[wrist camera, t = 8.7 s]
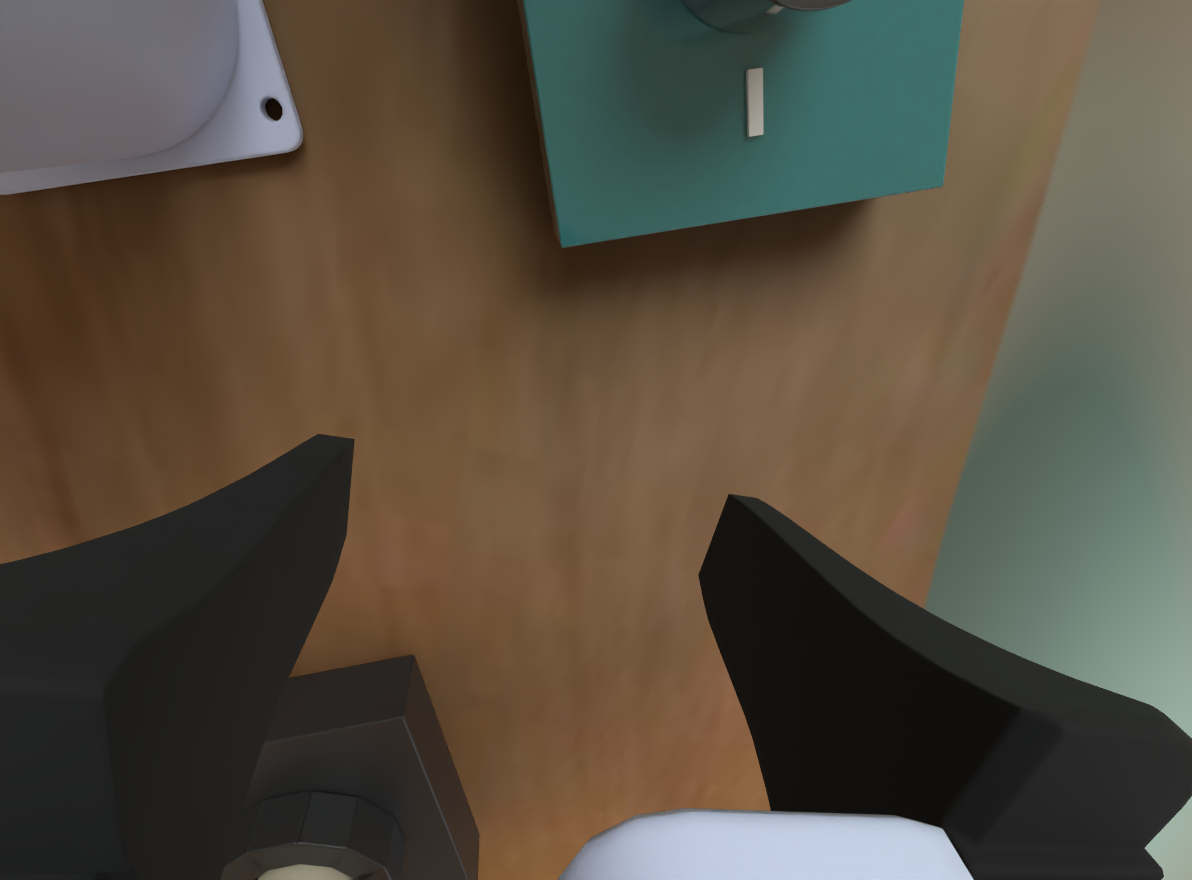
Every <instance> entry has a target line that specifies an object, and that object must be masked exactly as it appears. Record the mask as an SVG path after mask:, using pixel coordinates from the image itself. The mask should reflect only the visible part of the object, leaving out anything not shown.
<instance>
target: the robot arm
mask: <svg viewBox="0 0 1192 880" xmlns="http://www.w3.org/2000/svg"><path fill="white" fill-rule="evenodd" d="M271 98H274V99H275V100H277V101H278V102H279V103H280V105H281V106H282V110H283V115H282V117H281V119H279V120H277V121H275V120H273V119H272V118H270V117H269V116H268V114H267V112H266V108H265V105H266V103H267V101H268V100H269V99H271ZM302 140H303V129H302V125H301V122H300V119H299V116H298V112H297V109H296V106H295V103H294V100H293V96H292V93H291V90H290V87H289V84H288V80H287V77H286V74H285V71H284V67H283V64H282V61H281V58H280V55H279V51H278V48H277V45H276V42H275V39H274V35H273V32H272V29H271V26H270V23H269V19H268V16H267V13H266V10H265V6H264V3H263V0H0V195H8V194H15V193H22V192H28V191H35V190H42V189H48V188H55V187H62V186H68V185H75V184H82V183H88V182H95V181H102V180H108V179H115V178H122V177H128V176H135V175H142V174H148V173H155V172H162V171H168V170H175V169H182V168H188V167H195V166H202V165H208V164H215V163H222V162H228V161H235V160H242V159H248V158H255V157H262V156H268V155H275V154H282V153H288V152H292V151H294V150H297V148H298V147H299V146H300V145H301V144H302ZM353 450H354V439H349V438H343V437H336V436H329V435H322V434H317V435H315V436H314V437H312V438H310V439H308V440H307V441H305V442H303V443H302V444H300V445H298V446H297V447H295V448H294V449H292V450H290V451H289V452H287V453H285V454H284V455H282V456H280V457H279V458H277V459H275V460H274V461H272V462H270V463H268V464H267V465H265V466H263V467H261V468H260V469H258V470H256V471H255V472H253V473H251V474H249V475H248V476H246V477H244V478H242V479H240V480H238V481H236V482H234V483H232V484H230V485H228V486H226V487H224V488H222V489H220V490H218V491H216V492H214V493H212V494H210V495H208V496H206V497H204V498H202V499H200V500H198V501H196V502H194V503H191V504H189V505H187V506H185V507H182V508H180V509H178V510H175V511H173V512H170V513H168V514H165V515H163V516H160V517H158V518H155V519H152V520H150V521H147V522H145V523H142V524H139V525H137V526H134V527H131V528H128V529H125V530H122V531H119V532H115V533H112V534H109V535H106V536H102V537H99V538H96V539H93V540H90V541H86V542H83V543H80V544H77V545H74V546H70V547H67V548H64V549H60V550H57V551H53V552H49V553H45V554H41V555H37V556H33V557H29V558H25V559H21V560H17V561H13V562H8V563H4V564H0V880H221V876H222V873H223V870H224V867H225V863H226V860H227V857H228V854H229V850H230V847H231V844H232V841H233V837H234V834H235V831H236V828H237V825H238V821H239V818H240V815H241V812H242V809H243V806H244V803H245V800H246V796H247V793H248V790H249V787H250V784H251V781H252V778H253V775H254V772H255V768H256V765H257V762H258V759H259V756H260V753H261V750H262V747H263V744H264V741H265V738H266V735H267V732H268V729H269V726H270V723H271V721H272V718H273V715H274V712H275V709H276V706H277V704H278V701H279V699H280V696H281V694H282V692H283V689H284V687H285V684H286V682H287V680H288V678H289V675H290V673H291V671H292V669H293V667H294V665H295V662H296V660H297V658H298V656H299V654H300V651H301V649H302V647H303V645H304V643H305V641H306V638H307V636H308V634H309V632H310V630H311V628H312V625H313V623H314V621H315V619H316V617H317V614H318V612H319V610H320V608H321V606H322V603H323V601H324V599H325V597H326V594H327V592H328V590H329V588H330V585H331V583H332V581H333V578H334V575H335V571H336V568H337V565H338V562H339V558H340V555H341V551H342V548H343V545H344V541H345V538H346V534H347V522H348V510H349V498H350V486H351V474H352V462H353ZM699 580H700V585H701V590H702V595H703V600H704V604H705V609H706V613H707V617H708V620H709V623H710V626H711V629H712V631H713V634H714V637H715V639H716V642H717V645H718V647H719V650H720V653H721V655H722V658H723V661H724V663H725V666H726V668H727V671H728V673H729V676H730V679H731V681H732V684H733V686H734V689H735V691H736V694H737V697H738V699H739V702H740V704H741V707H742V710H743V712H744V715H745V717H746V720H747V723H748V726H749V729H750V732H751V735H752V738H753V742H754V745H755V749H756V753H757V757H758V760H759V764H760V768H761V772H762V775H763V779H764V783H765V787H766V791H767V795H768V799H769V804H770V808H771V811H754V810H724V809H695V808H684V809H676V810H669V811H662V812H655V813H647V814H640V815H635V816H633V817H631V818H629V819H627V820H625V821H623V822H621V823H619V824H617V825H615V826H613V827H611V828H609V829H607V830H605V831H603V832H601V833H599V834H597V835H595V836H593V837H591V838H590V839H589V840H588V842H587V843H586V844H585V845H584V846H583V847H582V849H581V850H580V851H579V853H578V854H577V855H576V856H575V858H574V859H573V860H572V861H571V863H570V864H569V865H568V867H567V868H566V869H565V870H564V872H563V873H562V874H561V875H560V877H559V878H558V880H1161V879H1162V878H1163V877H1164V875H1163V870H1162V868H1161V867H1160V866H1159V865H1158V863H1157V862H1156V861H1155V860H1154V859H1153V858H1152V857H1151V855H1150V854H1149V853H1148V852H1147V851H1146V850H1145V847H1146V845H1147V844H1148V843H1149V842H1150V841H1151V840H1152V839H1153V838H1154V837H1155V836H1156V835H1157V834H1158V833H1159V832H1160V831H1161V830H1162V829H1163V827H1164V826H1165V825H1166V824H1167V823H1168V822H1169V821H1170V820H1171V819H1172V818H1173V817H1174V816H1175V815H1176V814H1177V813H1178V812H1179V811H1180V810H1181V809H1182V807H1183V806H1184V805H1185V804H1186V802H1187V801H1188V800H1189V799H1190V797H1191V796H1192V738H1190V737H1189V736H1188V735H1187V734H1186V733H1185V732H1184V731H1183V730H1182V729H1181V728H1180V727H1178V726H1177V725H1176V724H1175V723H1174V722H1173V721H1172V720H1171V719H1170V718H1168V717H1167V716H1166V715H1165V714H1164V713H1162V712H1161V711H1159V710H1158V709H1156V708H1155V707H1153V706H1151V705H1149V704H1146V703H1143V702H1140V701H1137V700H1135V699H1132V698H1129V697H1126V696H1123V695H1120V694H1117V693H1114V692H1112V691H1109V690H1106V689H1103V688H1100V687H1097V686H1094V685H1091V684H1089V683H1086V682H1083V681H1080V680H1077V679H1074V678H1072V677H1069V676H1066V675H1064V674H1061V673H1059V672H1056V671H1054V670H1051V669H1049V668H1047V667H1044V666H1041V665H1039V664H1037V663H1034V662H1032V661H1029V660H1027V659H1024V658H1022V657H1020V656H1018V655H1015V654H1013V653H1011V652H1009V651H1006V650H1004V649H1002V648H999V647H997V646H995V645H993V644H991V643H989V642H987V641H984V640H983V639H981V638H979V637H977V636H974V635H972V634H970V633H968V632H966V631H964V630H962V629H960V628H958V627H956V626H954V625H952V624H950V623H948V622H946V621H944V620H943V619H941V618H939V617H937V616H935V615H933V614H932V613H930V612H928V611H926V610H925V609H923V608H921V607H919V606H918V605H916V604H914V603H912V602H911V601H909V600H907V599H905V598H904V597H902V596H900V595H899V594H897V593H895V592H894V591H892V590H891V589H889V588H887V587H886V586H884V585H883V584H881V583H880V582H878V581H877V580H875V579H874V578H872V577H871V576H869V575H868V574H866V573H865V572H863V571H862V570H860V569H859V568H857V567H856V566H854V565H853V564H851V563H850V562H848V561H847V560H846V559H844V558H843V557H841V556H840V555H839V554H837V553H836V552H834V551H833V550H832V549H830V548H829V547H827V546H826V545H825V544H823V543H822V542H821V541H819V540H818V539H816V538H815V537H814V536H812V535H811V534H810V533H808V532H807V531H806V530H804V529H803V528H801V527H800V526H799V525H797V524H796V523H795V522H793V521H792V520H790V519H789V518H788V517H786V516H785V515H783V514H782V513H780V512H779V511H778V510H776V509H775V508H773V507H771V506H770V505H768V504H767V503H765V502H763V501H761V500H759V499H758V498H753V497H746V496H739V495H733V494H729V495H728V497H727V500H726V503H725V506H724V508H723V511H722V514H721V516H720V519H719V522H718V524H717V527H716V530H715V532H714V535H713V538H712V540H711V543H710V546H709V548H708V551H707V554H706V556H705V559H704V562H703V564H702V567H701V570H700V573H699Z"/></svg>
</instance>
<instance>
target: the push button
mask: <svg viewBox="0 0 1192 880" xmlns="http://www.w3.org/2000/svg"><path fill="white" fill-rule="evenodd" d="M257 880H354V879H353V878H351V877H349V876H347V875H345V874H343V873H341V872H339V871H337V870H335V869H333V868H331V867H322V866H313V865H303V864H298V865H293V866H288V867H283V868H278V869H273V870H268V871H267V872H265V873H264V874H262V875H261V876H260V877H259V878H258V879H257Z"/></svg>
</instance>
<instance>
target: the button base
mask: <svg viewBox="0 0 1192 880" xmlns="http://www.w3.org/2000/svg"><path fill="white" fill-rule="evenodd" d="M478 859H479V832H478V829H477V827H476V824H475V821H474V818H473V816H472V813H471V810H470V807H469V805H468V802H467V799H466V797H465V794H464V791H463V788H462V786H461V783H460V780H459V777H458V775H457V772H456V769H455V766H454V764H453V761H452V758H451V755H450V753H449V750H448V747H447V744H446V742H445V739H444V736H443V733H442V731H441V728H440V725H439V722H438V720H437V717H436V714H435V711H434V709H433V706H432V703H431V700H430V698H429V695H428V692H427V689H426V687H425V684H424V681H423V678H422V676H421V673H420V670H419V667H418V665H417V662H416V659H415V657H414V655H409V656H404V657H399V658H394V659H388V660H383V661H378V662H373V663H367V664H362V665H357V666H351V667H346V668H341V669H336V670H330V671H325V672H320V673H315V674H309V675H304V676H299V677H293V678H288V680H287V682H286V684H285V687H284V689H283V692H282V694H281V696H280V699H279V701H278V704H277V706H276V709H275V712H274V715H273V718H272V721H271V723H270V726H269V729H268V732H267V735H266V738H265V741H264V744H263V747H262V750H261V753H260V756H259V759H258V762H257V765H256V768H255V772H254V775H253V778H252V781H251V784H250V787H249V790H248V793H247V796H246V800H245V803H244V806H243V809H242V812H241V815H240V818H239V821H238V825H237V828H236V831H235V834H234V837H233V841H232V844H231V847H230V850H229V854H228V857H227V860H226V863H225V867H224V870H223V873H222V876H221V880H257V879H258V878H259V877H260V876H261V875H262V874H264V873H265V872H267V871H268V870H273V869H278V868H283V867H288V866H293V865H298V864H303V865H313V866H322V867H331V868H333V869H335V870H337V871H339V872H341V873H343V874H345V875H347V876H349V877H351V878H353V879H354V880H478Z"/></svg>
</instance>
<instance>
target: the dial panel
mask: <svg viewBox="0 0 1192 880" xmlns="http://www.w3.org/2000/svg"><path fill="white" fill-rule="evenodd" d="M517 1H518V8H519V14H520V21H521V27H522V33H523V40H524V46H525V52H526V59H527V65H528V71H529V78H530V84H531V90H532V97H533V103H534V109H535V116H536V122H537V129H538V135H539V141H540V148H541V154H542V160H543V167H544V173H545V179H546V186H547V192H548V198H549V205H550V211H551V217H552V224H553V229H554V231H555V234H556V236H557V239H558V241H559V243H560V246H561V247H562V248H566V247H573V246H579V245H585V244H591V243H597V242H604V241H610V240H616V239H622V238H629V237H635V236H641V235H647V234H654V233H660V232H666V231H672V230H678V229H685V228H691V227H697V226H703V225H710V224H716V223H722V222H728V221H734V220H741V219H747V218H753V217H759V216H766V215H772V214H778V213H784V212H791V211H797V210H803V209H809V208H815V207H822V206H828V205H834V204H840V203H847V202H853V201H859V200H865V199H872V198H878V197H884V196H890V195H896V194H903V193H909V192H915V191H921V190H928V189H934V188H940V187H942V186H943V182H944V174H945V165H946V156H947V147H948V138H949V129H950V120H951V112H952V103H953V94H954V85H955V76H956V67H957V58H958V49H959V41H960V32H961V23H962V14H963V5H964V0H853V1H851V2H849V3H846V4H843V5H841V6H838V7H835V8H832V9H829V10H826V11H823V12H820V13H817V14H814V15H811V16H808V17H804V18H801V19H798V20H795V21H792V22H789V23H786V24H783V25H780V26H777V27H774V28H770V29H767V30H764V31H759V32H755V33H735V32H729V31H725V30H721V29H719V28H716V27H714V26H712V25H710V24H708V23H707V22H705V21H704V20H702V19H701V18H699V17H698V16H697V15H696V14H695V13H694V12H692V11H691V10H690V9H689V7H688V6H687V5H686V4H685V3H684V2H683V0H517Z"/></svg>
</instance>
